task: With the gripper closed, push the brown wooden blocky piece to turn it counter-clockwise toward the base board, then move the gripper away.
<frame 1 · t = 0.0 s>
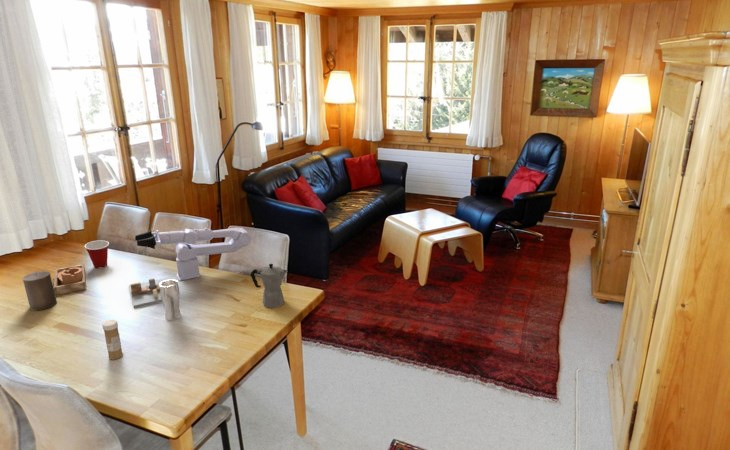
hand: (136, 240, 217), 22 cm above the table, tool horizontal, fingers open, 7 cm apart
plastic cup: (101, 266, 244), on the table
sprinkles bottle: (116, 356, 170), on the table
parts corral: (70, 282, 226), on the table
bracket: (71, 282, 226), resting in parts corral
beer glass: (173, 317, 195), on the table
base board: (153, 292, 216), on the table
pillar candle: (43, 305, 205), on the table
brown wooden blocky piece: (144, 286, 213), point 4 cm above the table, hinge at 0.0°
coffeepot: (271, 303, 207), on the table
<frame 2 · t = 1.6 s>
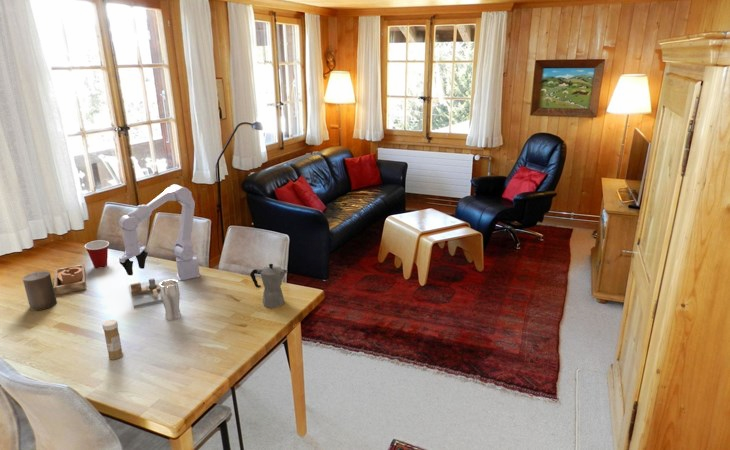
hand: (136, 271, 215), 9 cm above the table, tool pointing down, fingers open, 7 cm apart
nothing on the table moved.
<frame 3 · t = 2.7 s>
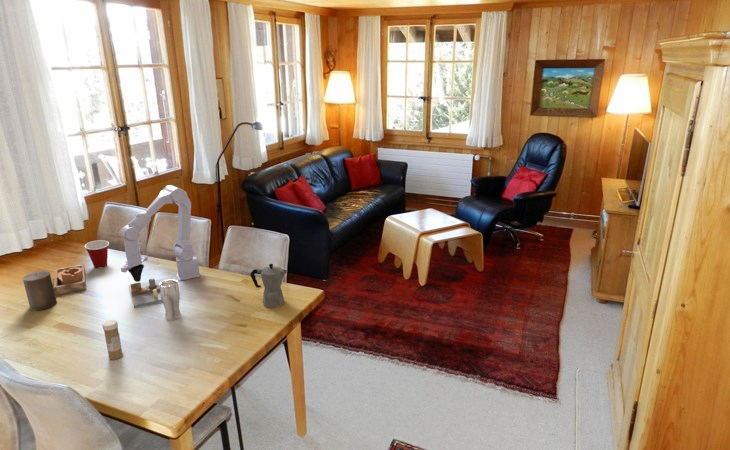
hand: (137, 280, 216), 5 cm above the table, tool pointing down, fingers closed
nothing on the table moved.
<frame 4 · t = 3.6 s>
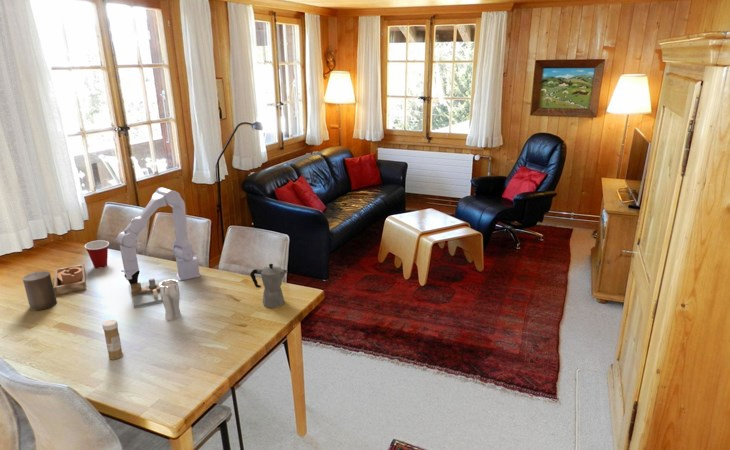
hand: (134, 287, 213), 3 cm above the table, tool pointing down, fingers closed
brown wooden blocky piece: (144, 286, 213), point 4 cm above the table, hinge at 0.0°, touching gripper
everything else where it was.
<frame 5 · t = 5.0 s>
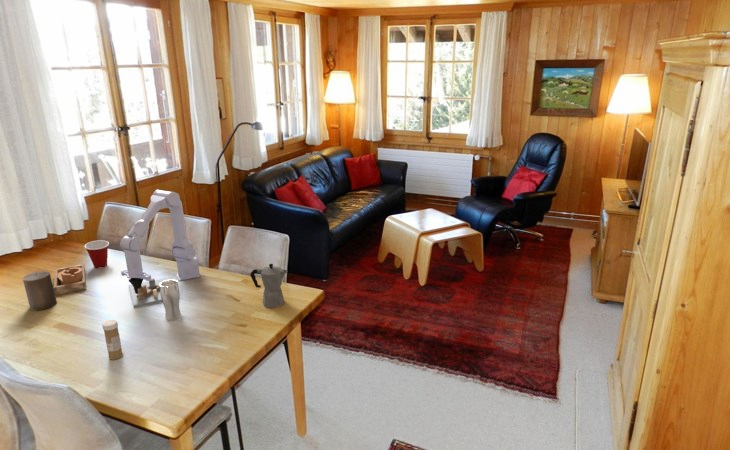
hand: (138, 292, 208), 3 cm above the table, tool pointing down, fingers closed, pressing on brown wooden blocky piece
brown wooden blocky piece: (147, 288, 212), point 4 cm above the table, hinge at 46.0°, touching gripper
everything else where it was.
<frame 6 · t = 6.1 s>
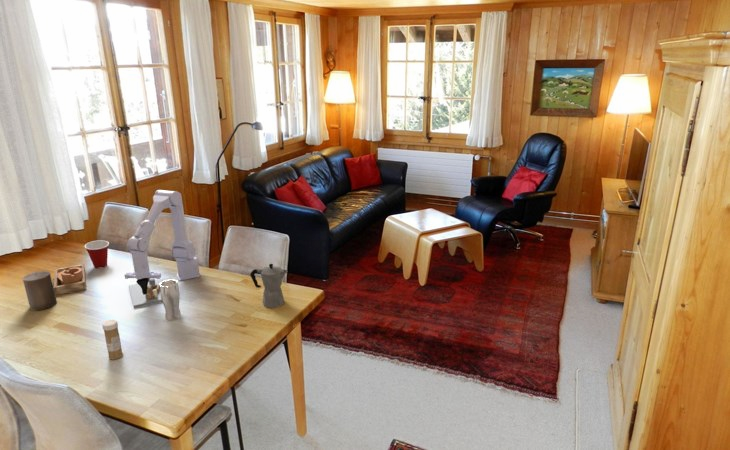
hand: (145, 293, 208), 3 cm above the table, tool pointing down, fingers closed, pressing on brown wooden blocky piece
brown wooden blocky piece: (151, 288, 212), point 4 cm above the table, hinge at 73.4°, touching base board, gripper
everything else where it was.
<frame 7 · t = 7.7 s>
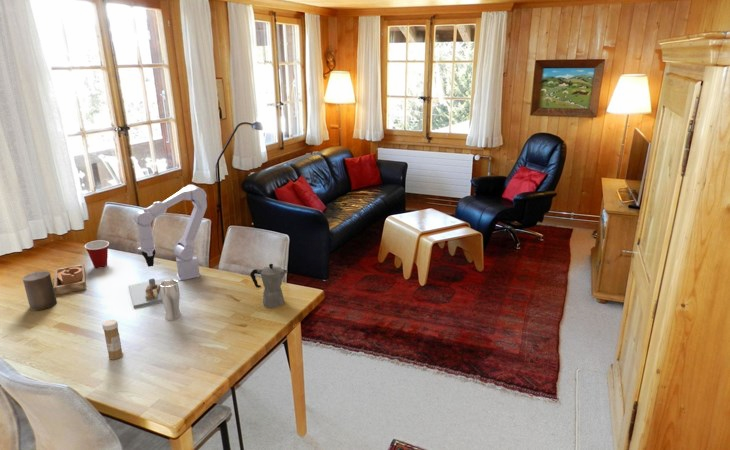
hand: (150, 265, 220), 10 cm above the table, tool pointing down, fingers closed
brown wooden blocky piece: (151, 288, 212), point 4 cm above the table, hinge at 73.4°, touching base board
everything else where it was.
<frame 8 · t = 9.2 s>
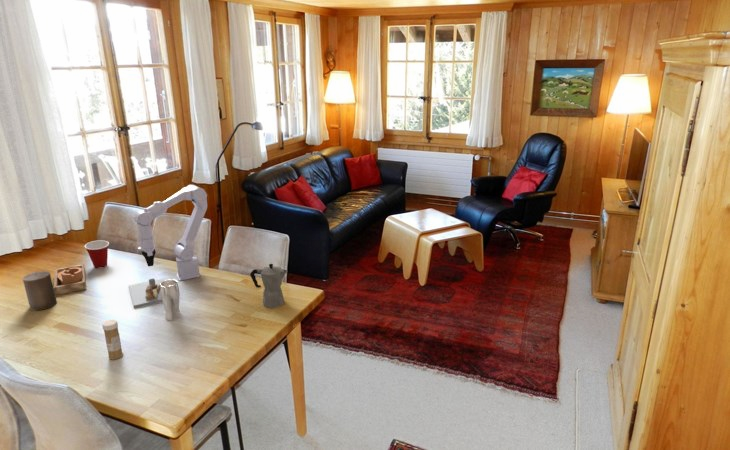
hand: (150, 265, 220), 10 cm above the table, tool pointing down, fingers closed
nothing on the table moved.
at the end: brown wooden blocky piece at +73° (first picture: +0°); the gripper is holding nothing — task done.
